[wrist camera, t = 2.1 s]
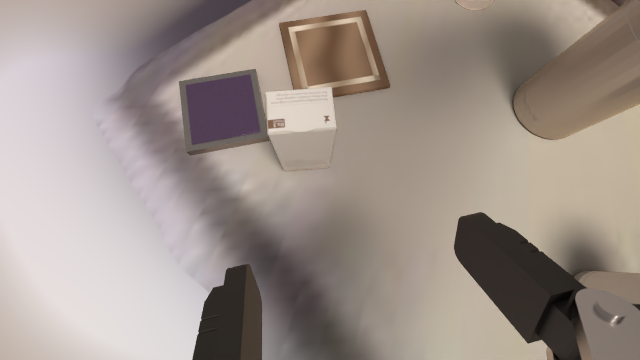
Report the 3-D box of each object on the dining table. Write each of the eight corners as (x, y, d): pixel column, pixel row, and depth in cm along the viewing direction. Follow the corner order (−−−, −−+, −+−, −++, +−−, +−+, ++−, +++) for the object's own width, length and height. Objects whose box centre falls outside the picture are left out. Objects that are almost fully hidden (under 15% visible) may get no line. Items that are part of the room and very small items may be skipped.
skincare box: (326, 137, 36) (334, 81, 24) (330, 170, 34) (341, 128, 23) (279, 141, 35) (264, 86, 24) (281, 174, 34) (266, 133, 22)
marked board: (365, 13, 41) (366, 9, 40) (389, 87, 38) (390, 85, 37) (279, 25, 40) (279, 22, 39) (296, 103, 37) (296, 101, 36)
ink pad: (257, 74, 38) (255, 68, 36) (269, 140, 35) (267, 136, 34) (183, 86, 37) (178, 80, 36) (190, 155, 34) (185, 151, 33)
